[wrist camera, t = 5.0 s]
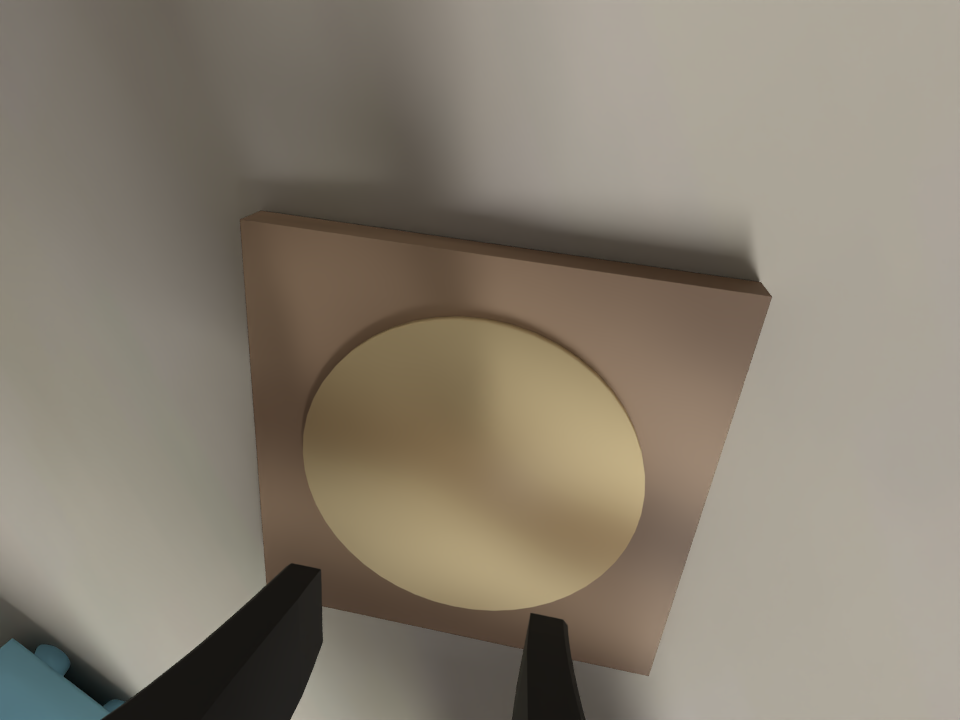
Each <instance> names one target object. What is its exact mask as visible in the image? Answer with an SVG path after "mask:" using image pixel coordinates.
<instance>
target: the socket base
mask: <svg viewBox="0 0 960 720" xmlns="http://www.w3.org/2000/svg"><path fill="white" fill-rule="evenodd" d="M240 228H241V242H242V256H243V269H244V283H245V297H246V311H247V324H248V338H249V352H250V365H251V379H252V393H253V407H254V420H255V434H256V448H257V461H258V475H259V489H260V503H261V516H262V530H263V544H264V557H265V571H266V585H267V584H268V583H269V582H270V581H271V580H272V579H273V578H274V577H275V576H277V575H278V574H279V573H280V572H281V571H282V570H283V569H284V568H285V567H286V566H288V565H289V564H291V563H294V564H299V565H304V566H309V567H313V568H318V569H321V583H322V606H324V607H329V608H334V609H338V610H343V611H348V612H352V613H357V614H362V615H366V616H371V617H376V618H380V619H385V620H390V621H394V622H399V623H404V624H408V625H413V626H418V627H422V628H427V629H432V630H436V631H441V632H445V633H450V634H455V635H459V636H464V637H469V638H473V639H478V640H483V641H487V642H492V643H497V644H501V645H506V646H511V647H515V648H520V649H524V645H525V639H526V634H527V629H528V623H529V618H530V613H535V614H540V615H544V616H549V617H554V618H559V619H563V620H564V621H565V622H566V624H567V625H568V635H569V643H570V651H571V657H572V660H576V661H581V662H585V663H590V664H595V665H599V666H604V667H609V668H613V669H618V670H623V671H627V672H632V673H637V674H641V675H646V676H649V673H650V670H651V667H652V664H653V661H654V658H655V655H656V652H657V649H658V646H659V643H660V640H661V636H662V633H663V630H664V627H665V624H666V621H667V618H668V615H669V612H670V609H671V606H672V603H673V600H674V596H675V593H676V590H677V587H678V584H679V581H680V578H681V575H682V572H683V569H684V566H685V563H686V560H687V557H688V553H689V550H690V547H691V544H692V541H693V538H694V535H695V532H696V529H697V526H698V523H699V520H700V517H701V514H702V510H703V507H704V504H705V501H706V498H707V495H708V492H709V489H710V486H711V483H712V480H713V477H714V474H715V470H716V467H717V464H718V461H719V458H720V455H721V452H722V449H723V446H724V443H725V440H726V437H727V434H728V431H729V427H730V424H731V421H732V418H733V415H734V412H735V409H736V406H737V403H738V400H739V397H740V394H741V391H742V387H743V384H744V381H745V378H746V375H747V372H748V369H749V366H750V363H751V360H752V357H753V354H754V351H755V348H756V344H757V341H758V338H759V335H760V332H761V329H762V326H763V323H764V320H765V317H766V314H767V311H768V308H769V304H770V301H771V298H772V296H771V295H770V294H769V292H768V291H767V290H766V288H765V287H764V286H763V284H762V283H761V282H756V281H749V280H742V279H735V278H728V277H721V276H714V275H707V274H700V273H693V272H686V271H679V270H672V269H665V268H658V267H651V266H644V265H637V264H630V263H623V262H616V261H609V260H602V259H595V258H588V257H581V256H574V255H567V254H560V253H553V252H546V251H539V250H532V249H525V248H518V247H511V246H504V245H497V244H490V243H483V242H476V241H469V240H462V239H455V238H448V237H441V236H434V235H427V234H420V233H413V232H406V231H399V230H392V229H385V228H378V227H371V226H364V225H357V224H350V223H343V222H336V221H329V220H322V219H315V218H308V217H301V216H294V215H287V214H280V213H273V212H266V211H259V212H256V213H254V214H252V215H249V216H247V217H245V218H242V219H240Z"/></svg>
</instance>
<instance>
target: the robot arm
mask: <svg viewBox="0 0 960 720" xmlns="http://www.w3.org/2000/svg"><path fill="white" fill-rule="evenodd" d="M322 643H323V633H322V583H321V569H318V568H313V567H309V566H304V565H299V564H294V563H291V564H289V565H288V566H286V567H285V568H284V569H283V570H282V571H281V572H280V573H279V574H278V575H277V576H275V577H274V578H273V579H272V580H271V581H270V582H269V583H268V584H267V585H266V586H265V587H264V588H263V589H262V590H261V591H259V592H258V593H257V594H256V595H255V596H254V597H253V598H252V599H251V600H250V601H249V602H247V603H246V604H245V605H244V606H243V607H242V608H241V609H240V610H239V611H237V612H236V613H235V614H234V615H233V616H232V617H231V618H230V619H228V620H227V621H226V622H225V623H224V624H223V625H221V626H220V627H219V628H218V629H217V630H216V631H215V632H213V633H212V634H211V635H210V636H209V637H208V638H206V639H205V640H204V641H203V642H202V643H201V644H199V645H198V646H197V647H196V648H195V649H193V650H192V651H191V652H190V653H189V654H187V655H186V656H185V657H183V658H182V659H181V660H180V661H178V662H177V663H176V664H175V665H173V666H172V667H171V668H170V669H168V670H167V671H166V672H164V673H163V674H162V675H161V676H159V677H158V678H157V679H156V680H154V681H153V682H152V683H151V684H149V685H148V686H147V687H145V688H144V689H143V690H141V691H140V692H139V693H137V694H136V695H134V696H133V697H132V698H130V699H129V700H128V701H126V702H125V703H124V704H122V705H121V706H119V707H118V708H117V709H115V710H114V711H112V712H111V713H109V714H108V715H107V716H105V717H104V718H102V719H101V720H290V719H291V717H292V715H293V713H294V711H295V709H296V707H297V705H298V703H299V701H300V699H301V697H302V695H303V692H304V690H305V687H306V685H307V682H308V680H309V677H310V675H311V672H312V670H313V667H314V664H315V662H316V659H317V656H318V654H319V651H320V648H321V646H322ZM512 720H585V716H584V713H583V709H582V705H581V701H580V696H579V692H578V688H577V683H576V678H575V673H574V668H573V663H572V657H571V651H570V643H569V635H568V625H567V624H566V622H565V621H564V620H563V619H559V618H554V617H549V616H544V615H540V614H535V613H530V618H529V623H528V629H527V634H526V639H525V645H524V650H523V655H522V661H521V666H520V671H519V677H518V682H517V688H516V695H515V702H514V709H513V716H512Z"/></svg>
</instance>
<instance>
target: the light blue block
mask: <svg viewBox="0 0 960 720" xmlns="http://www.w3.org/2000/svg"><path fill="white" fill-rule="evenodd" d="M69 667H70V660H69V658H68V657H67V655H66V654H65V653H64V652H62V651H61V650H60V649H58V648H56V647H54V646H52V645H47V644H42V645H39V646H38V647H37V649H36V651H35V653H34V654H33V653H32V652H31V651H29V650H28V649H27V648H25V647H24V646H23V645H21V644H20V643H19V642H17V641H16V640H15V639H13V638H12V639H10V640H9V641H8V642H7V643H6V644H4V645H3V646H2V647H1V648H0V720H101V719H102V718H104V717H105V716H107V715H108V714H109V713H111V712H112V711H114V710H115V709H117V708H118V707H119V706H121V705H122V704H124V703H125V701H122V700H111V701H109V702H108V703H106V704H105V705H104V706H101V705H100V704H99V703H97V702H96V701H95V700H93V699H92V698H91V697H89V696H88V695H87V694H86V693H84V692H83V691H82V690H80V689H79V688H78V687H76V686H75V685H74V684H72V683H71V682H70V681H69V680H67V679H66V678H65V677H63V676H64V675H65V673H66V672H67V670H68V669H69Z"/></svg>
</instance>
